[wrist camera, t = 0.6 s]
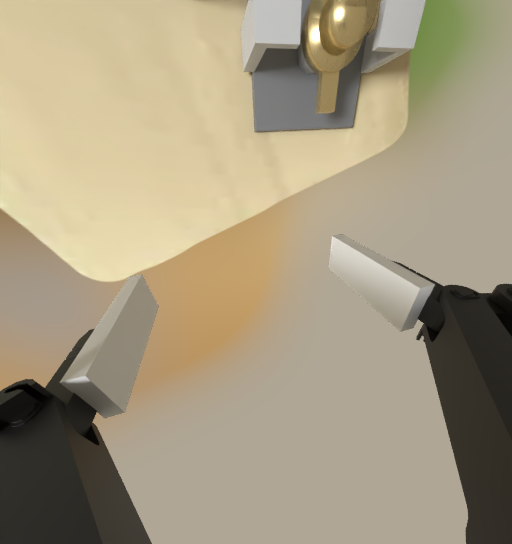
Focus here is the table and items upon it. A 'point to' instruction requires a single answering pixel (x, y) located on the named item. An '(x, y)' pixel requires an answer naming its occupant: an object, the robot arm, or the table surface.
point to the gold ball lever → (333, 41)
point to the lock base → (300, 92)
